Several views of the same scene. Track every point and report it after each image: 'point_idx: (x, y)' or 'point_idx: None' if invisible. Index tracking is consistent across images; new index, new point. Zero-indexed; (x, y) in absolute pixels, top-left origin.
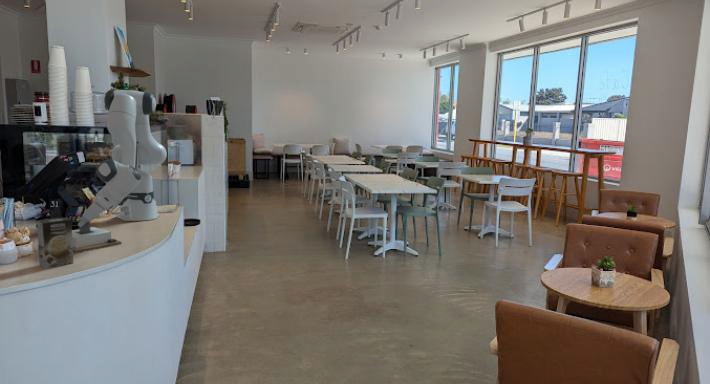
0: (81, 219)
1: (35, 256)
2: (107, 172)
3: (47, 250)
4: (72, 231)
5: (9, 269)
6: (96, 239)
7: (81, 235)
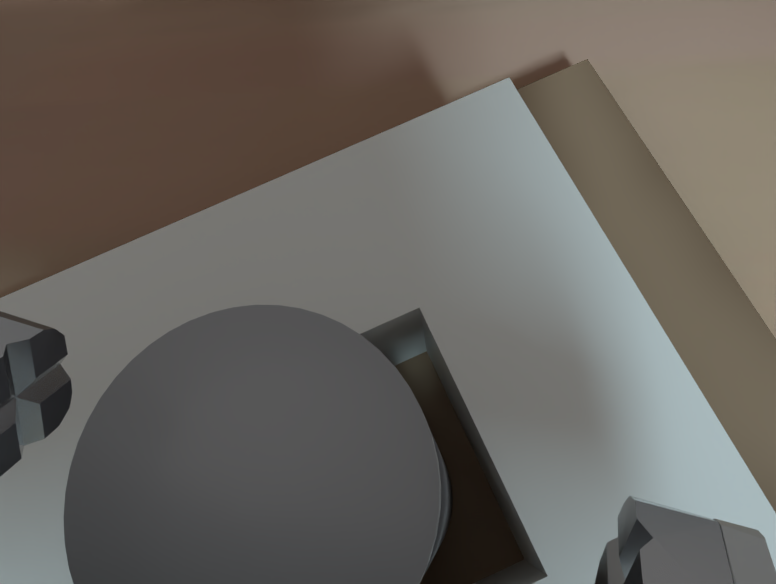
0: (123, 390)
1: (60, 8)
2: None
3: None
4: (529, 275)
5: None
6: None
7: (79, 417)
